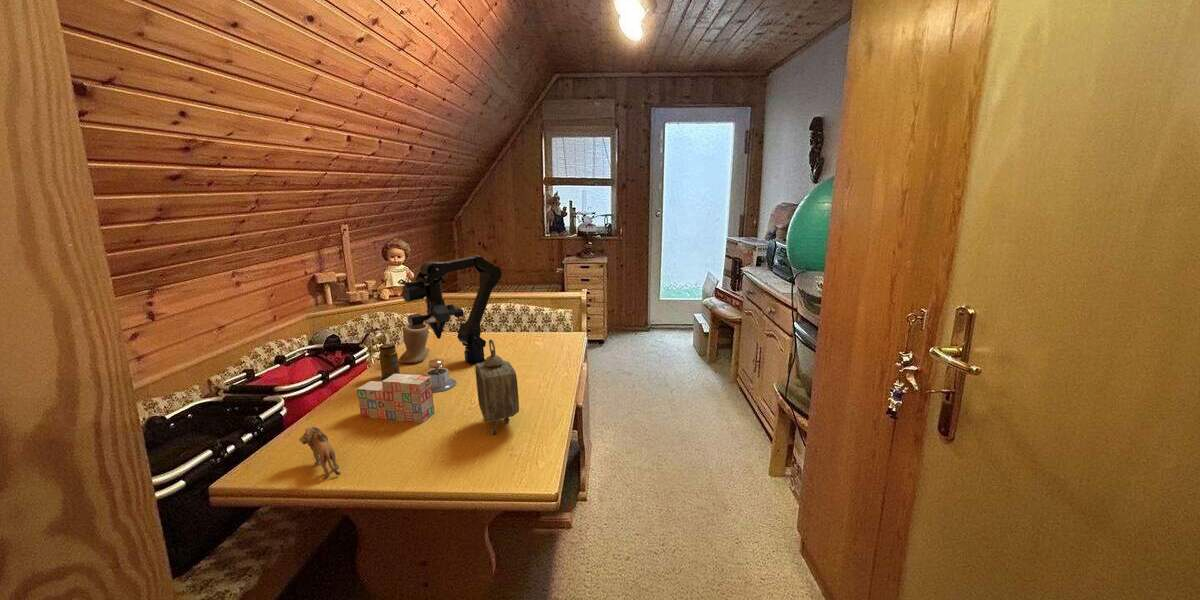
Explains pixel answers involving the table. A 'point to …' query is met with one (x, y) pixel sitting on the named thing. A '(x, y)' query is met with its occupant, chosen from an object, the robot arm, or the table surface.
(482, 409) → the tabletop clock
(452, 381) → the coaster
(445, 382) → the carafe
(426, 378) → the stack of blocks
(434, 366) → the plunger
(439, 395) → the table surface
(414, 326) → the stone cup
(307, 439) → the lion figurine
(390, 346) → the condiment
